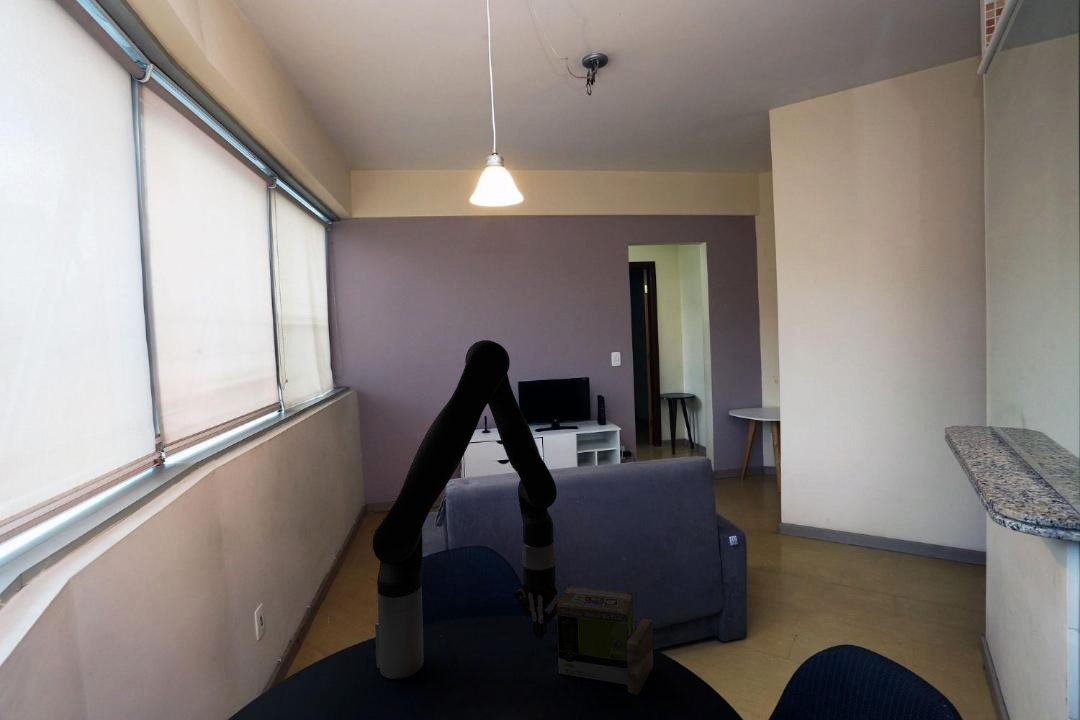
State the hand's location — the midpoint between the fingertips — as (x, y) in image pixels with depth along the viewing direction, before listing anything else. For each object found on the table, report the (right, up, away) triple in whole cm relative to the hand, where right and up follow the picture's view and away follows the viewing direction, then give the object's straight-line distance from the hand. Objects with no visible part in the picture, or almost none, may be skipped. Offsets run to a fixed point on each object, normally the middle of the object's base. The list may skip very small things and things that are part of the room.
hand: (540, 636), depth 114 cm
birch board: (+21, -2, -12) cm, 24 cm away
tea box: (+12, -3, -7) cm, 14 cm away
